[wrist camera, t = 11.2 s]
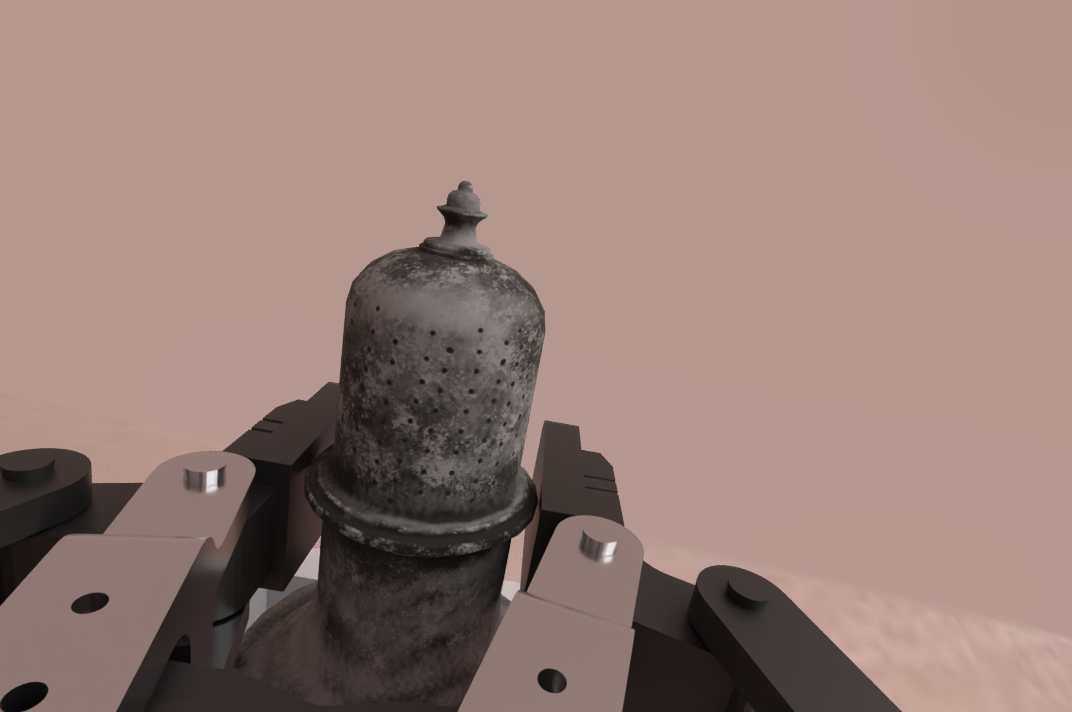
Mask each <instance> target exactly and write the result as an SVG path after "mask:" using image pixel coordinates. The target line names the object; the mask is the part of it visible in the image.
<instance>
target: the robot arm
mask: <svg viewBox="0 0 1072 712" xmlns="http://www.w3.org/2000/svg"><path fill="white" fill-rule="evenodd" d="M338 392H339V383H333V382H328V383H327V384H326V385H325V386H324V387H322V388H321V389H320V390H319V391H318V392H317V393H316V394H315V395H313V397H311V398H310V399H309V400H308V401H304V400H296V401H293V402H290V403H287V404H284V405H281V406H279V407H276V408H275V409H274V410H272V411H271V412H270V413H269V414H268V415H266V416H265V417H264V418H263V420H262V421H261V420H260V421H259V422H258V423H257V424H255V425H254V426H253V427H252V429H251V430H248V431H247V432H245V433H244V434H243V435H242V436H241V437H239V438H238V439H237V440H236V441H234V442H233V443H232V444H231V445H230V446H228V447H227V448H226V449H225V450H223V451H201V452H193V453H188V454H184V455H180V456H176V457H174V458H171V459H169V460H167V461H165V462H163V463H161V464H160V465H159V466H157V467H156V468H155V469H154V470H153V472H152V473H151V474H150V475H149V477H148V478H147V479H146V480H145V482H144V483H92V472H91V462H90V460H89V459H88V458H87V457H86V456H85V455H83V454H81V453H78V452H76V451H71V450H66V449H55V448H40V449H28V450H21V451H16V452H11V453H6V454H2V455H0V712H902V711H901V710H900V709H899V708H898V707H897V706H896V705H895V704H894V703H893V702H892V701H891V700H890V699H889V698H888V697H887V696H886V695H885V694H884V693H883V692H882V691H881V690H880V689H879V688H878V687H877V686H876V685H875V684H874V683H873V682H872V681H871V680H870V679H869V678H868V677H867V676H866V675H865V674H864V673H863V672H862V671H861V670H860V669H859V668H858V667H857V666H856V665H855V664H854V663H853V662H852V661H851V660H850V659H849V658H848V657H847V656H846V655H845V654H844V653H843V652H842V651H841V650H840V649H839V648H838V647H837V646H836V645H835V644H834V643H833V642H832V641H831V640H830V639H829V638H828V637H827V636H826V635H825V634H824V633H823V632H822V631H821V630H820V629H819V628H818V627H817V626H816V625H815V624H814V623H813V622H812V621H811V620H810V619H809V618H808V617H807V616H806V615H805V614H804V613H803V612H802V611H801V610H800V609H799V608H798V607H797V606H796V605H795V604H794V602H793V601H792V600H791V599H790V598H789V597H788V596H787V595H786V594H785V593H783V592H782V591H781V590H780V589H779V588H778V587H777V586H775V585H774V584H773V583H771V582H770V581H768V580H766V579H765V578H763V577H761V576H759V575H757V574H755V573H752V572H750V571H748V570H744V569H741V568H737V567H733V566H726V565H717V566H711V567H708V568H705V569H704V570H702V571H701V572H700V573H699V575H698V578H697V581H696V584H695V585H693V584H690V583H688V582H685V581H682V580H680V579H677V578H675V577H672V576H670V575H667V574H665V573H663V572H661V571H659V570H657V569H655V568H653V567H652V566H650V565H649V564H647V563H646V562H644V561H643V557H644V549H643V546H642V544H641V542H640V540H639V539H638V538H637V537H636V536H635V535H634V534H633V533H632V532H631V531H630V530H628V529H627V528H625V527H624V521H623V516H622V512H621V506H620V501H619V497H618V495H617V492H618V491H617V486H616V483H615V477H614V472H613V467H612V466H611V465H610V463H609V462H608V461H607V460H606V459H605V458H604V457H603V456H602V455H601V454H600V453H596V452H590V451H585V450H581V444H580V443H581V442H580V432H579V426H574V425H569V424H563V423H557V422H552V421H546V420H545V421H544V424H543V429H542V433H541V438H540V444H539V449H538V454H537V459H536V464H535V469H534V474H533V479H532V481H533V482H534V484H535V485H536V490H537V496H538V505H537V508H536V511H535V514H534V517H533V520H532V521H531V522H530V523H529V524H528V526H527V527H526V528H525V537H524V549H523V560H522V572H521V584H520V590H518V591H517V592H516V594H515V595H514V597H513V599H512V601H511V603H510V605H509V607H508V609H507V611H506V613H505V615H504V618H503V620H502V622H501V624H500V626H499V628H498V630H497V632H496V634H495V636H494V638H493V640H492V642H491V644H490V646H489V648H488V650H487V652H486V654H485V656H484V659H483V661H482V663H481V665H480V667H479V669H478V671H477V673H476V675H475V677H474V679H473V681H472V683H471V685H470V687H469V689H468V691H467V693H466V695H465V697H464V700H463V702H462V704H461V706H460V708H453V707H447V706H441V705H435V704H429V703H423V702H417V701H405V702H388V703H371V704H354V705H337V706H319V705H314V704H311V703H308V702H306V701H304V700H302V699H299V698H297V697H295V696H293V695H290V694H288V693H286V692H284V691H281V690H279V689H277V688H275V687H272V686H270V685H268V684H266V683H263V682H261V681H259V680H257V679H254V678H252V677H250V676H247V675H245V674H243V673H241V672H237V671H232V668H233V665H234V662H235V659H236V656H237V653H238V650H239V647H240V644H241V641H242V638H243V635H244V632H245V629H246V626H247V623H248V620H249V610H250V599H251V598H252V596H253V595H254V594H255V592H256V591H257V590H258V588H262V589H268V590H274V591H280V592H284V590H285V589H286V587H287V586H288V584H289V583H290V581H291V580H292V578H293V577H294V575H295V574H296V572H297V571H298V569H299V568H300V566H301V565H302V563H303V562H304V560H305V558H306V557H307V555H308V554H309V552H310V551H311V549H312V548H313V546H314V545H315V543H316V542H317V540H318V539H319V537H320V536H321V533H322V519H321V518H319V517H318V516H317V515H316V514H315V513H314V512H313V510H312V508H311V506H310V505H309V503H308V501H307V499H306V497H305V496H304V478H305V473H306V471H307V469H308V467H309V465H310V464H311V462H312V460H313V459H314V458H315V457H316V456H318V455H319V454H320V453H321V452H323V451H324V450H325V449H327V448H328V447H329V446H331V445H333V444H334V439H335V428H336V416H337V404H338Z"/></svg>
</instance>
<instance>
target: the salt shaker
mask: <svg viewBox="0 0 1072 712" xmlns="http://www.w3.org/2000/svg"><path fill="white" fill-rule="evenodd" d="M472 191H473V186H472V184H471V183H470V182H467V181H462V182H461V183H460V184H459V186H458V190H455V191H452V192H451V193H449V195H448V198H447V204H446V205H443V206H437V209H438V210H439V211H440V212H441V214H442V215H443V216H444V219H445V225H444V228H443V231H442V234H441V236H440V237H429V238H426V239H425V240H424V243H421V244H420V245H419V247H414V248H406V249H399V250H395V251H392V252H390V253H388V254H386V255H384V256H382V257H380V258H378V259H376V260H374V261H372V262H371V263H370V264H369V265H367V266H366V268H365V269H364V270H363V271H362V272H361V273H360V274H359V275H358V276H357V277H356V278H355V279H354V281H353V282H352V285H351V288H350V291H349V294H348V297H347V301H346V310H345V322H344V334H343V345H342V357H341V369H340V382H339V392H338V404H337V416H336V428H335V439H334V444H333V445H331V446H329V447H328V448H327V449H325V450H324V451H323V452H321V453H320V454H319V455H318V456H316V457H315V458H314V459H313V460H312V462H311V464H310V465H309V467H308V469H307V471H306V473H305V478H304V496H305V497H306V499H307V501H308V503H309V505H310V506H311V508H312V510H313V512H314V513H315V514H316V515H317V516H318V517H319V518H321V519H322V533H321V545H320V557H319V569H318V580H317V581H315V582H313V583H310V584H308V585H306V586H303V587H301V588H299V589H297V590H295V591H294V592H292V593H291V594H289V595H288V596H286V597H285V598H284V599H282V600H281V601H279V602H278V603H276V604H275V605H273V606H272V607H271V608H269V609H268V610H266V611H265V612H264V613H262V614H261V615H260V616H259V618H258V619H257V620H256V621H255V622H254V623H253V624H252V625H251V626H250V627H249V628H248V630H247V631H246V632H245V633H244V635H243V638H242V641H241V644H240V647H239V650H238V653H237V656H236V659H235V662H234V665H233V668H232V671H237V672H241V673H243V674H245V675H247V676H250V677H252V678H254V679H257V680H259V681H261V682H263V683H266V684H268V685H270V686H272V687H275V688H277V689H279V690H281V691H284V692H286V693H288V694H290V695H293V696H295V697H297V698H299V699H302V700H304V701H306V702H308V703H311V704H314V705H319V706H337V705H354V704H371V703H388V702H405V701H417V702H423V703H429V704H435V705H441V706H447V707H453V708H460V706H461V704H462V702H463V700H464V697H465V695H466V693H467V691H468V689H469V687H470V685H471V683H472V681H473V679H474V677H475V675H476V673H477V671H478V669H479V667H480V665H481V663H482V661H483V659H484V656H485V654H486V652H487V650H488V648H489V646H490V644H491V642H492V640H493V638H494V636H495V634H496V632H497V630H498V628H499V626H500V624H501V622H502V620H503V618H504V615H505V613H506V611H507V609H508V607H509V605H510V603H511V601H510V600H509V599H507V598H506V597H505V596H503V595H502V594H501V591H502V586H503V580H504V575H505V570H506V565H507V559H508V554H509V549H510V543H511V538H513V537H515V536H517V535H519V534H520V533H521V532H522V531H523V530H524V529H525V528H526V527H527V526H528V524H529V523H530V522H531V521H532V520H533V517H534V514H535V511H536V508H537V505H538V496H537V490H536V485H535V484H534V482H533V481H532V479H531V478H530V476H529V475H528V473H527V472H526V470H525V469H524V468H522V467H521V466H520V465H521V459H522V454H523V449H524V443H525V437H526V432H527V427H528V422H529V416H530V411H531V406H532V400H533V395H534V390H535V384H536V378H537V374H538V368H539V363H540V357H541V352H542V346H543V341H544V336H545V311H544V309H543V307H542V305H541V303H540V301H539V298H538V296H537V294H536V292H535V290H534V288H533V287H532V286H531V285H530V284H529V283H528V282H527V281H526V280H525V279H524V278H523V277H522V276H521V275H520V274H519V273H518V272H517V271H515V270H514V269H512V268H511V267H509V266H507V265H505V264H502V263H501V262H499V261H497V260H495V259H494V256H493V255H492V254H491V251H490V248H488V247H486V246H483V245H481V244H478V243H477V242H476V226H477V224H478V223H479V222H480V221H482V220H483V219H485V218H486V217H487V214H484V213H483V212H481V211H480V210H479V209H480V199H479V198H478V196H477V195H476V194H474V193H472Z"/></svg>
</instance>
